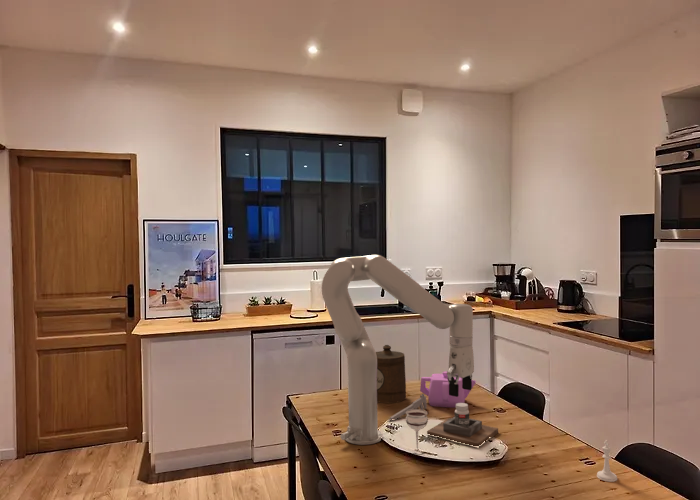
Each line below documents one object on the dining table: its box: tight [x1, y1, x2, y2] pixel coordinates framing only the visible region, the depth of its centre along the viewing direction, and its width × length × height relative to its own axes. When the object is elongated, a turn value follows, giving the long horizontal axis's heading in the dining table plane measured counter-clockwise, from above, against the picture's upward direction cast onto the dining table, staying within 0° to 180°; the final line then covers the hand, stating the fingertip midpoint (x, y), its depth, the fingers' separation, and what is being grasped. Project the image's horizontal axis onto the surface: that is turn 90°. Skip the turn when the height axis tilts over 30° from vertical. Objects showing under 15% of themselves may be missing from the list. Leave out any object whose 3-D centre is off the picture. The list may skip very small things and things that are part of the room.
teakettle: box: [419, 370, 477, 408], centre depth 202 cm, size 17×17×12 cm
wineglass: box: [405, 408, 429, 450], centre depth 155 cm, size 7×7×12 cm
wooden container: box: [375, 344, 407, 404], centre depth 210 cm, size 15×15×22 cm
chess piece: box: [596, 439, 618, 483], centre depth 136 cm, size 5×5×10 cm
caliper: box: [388, 393, 428, 420], centre depth 188 cm, size 20×1×6 cm, turn 131°
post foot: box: [426, 416, 499, 446], centre depth 168 cm, size 16×18×4 cm
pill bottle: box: [454, 402, 470, 427], centre depth 168 cm, size 5×5×8 cm
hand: (460, 392), depth 168 cm, fingers open, 9 cm apart
